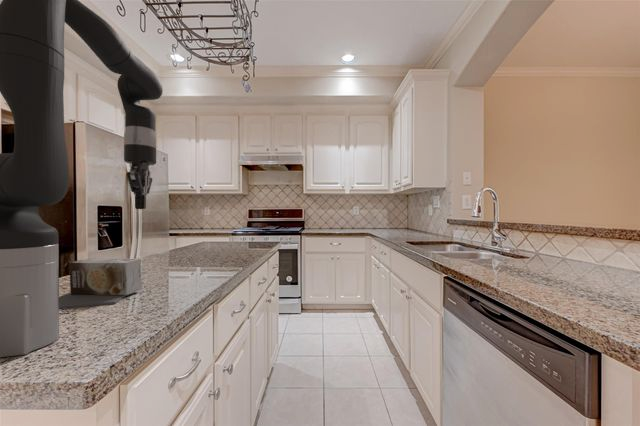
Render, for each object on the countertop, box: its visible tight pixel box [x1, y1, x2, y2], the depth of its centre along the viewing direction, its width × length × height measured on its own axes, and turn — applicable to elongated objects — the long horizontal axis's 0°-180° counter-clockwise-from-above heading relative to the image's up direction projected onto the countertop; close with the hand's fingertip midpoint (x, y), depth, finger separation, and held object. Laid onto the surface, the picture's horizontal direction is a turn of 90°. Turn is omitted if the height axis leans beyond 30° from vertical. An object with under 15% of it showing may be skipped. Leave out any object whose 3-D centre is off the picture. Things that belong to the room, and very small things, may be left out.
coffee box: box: [68, 258, 143, 296], centre depth 79 cm, size 9×6×16 cm
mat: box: [59, 292, 128, 309], centre depth 75 cm, size 12×16×1 cm
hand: (140, 209), depth 78 cm, fingers closed
